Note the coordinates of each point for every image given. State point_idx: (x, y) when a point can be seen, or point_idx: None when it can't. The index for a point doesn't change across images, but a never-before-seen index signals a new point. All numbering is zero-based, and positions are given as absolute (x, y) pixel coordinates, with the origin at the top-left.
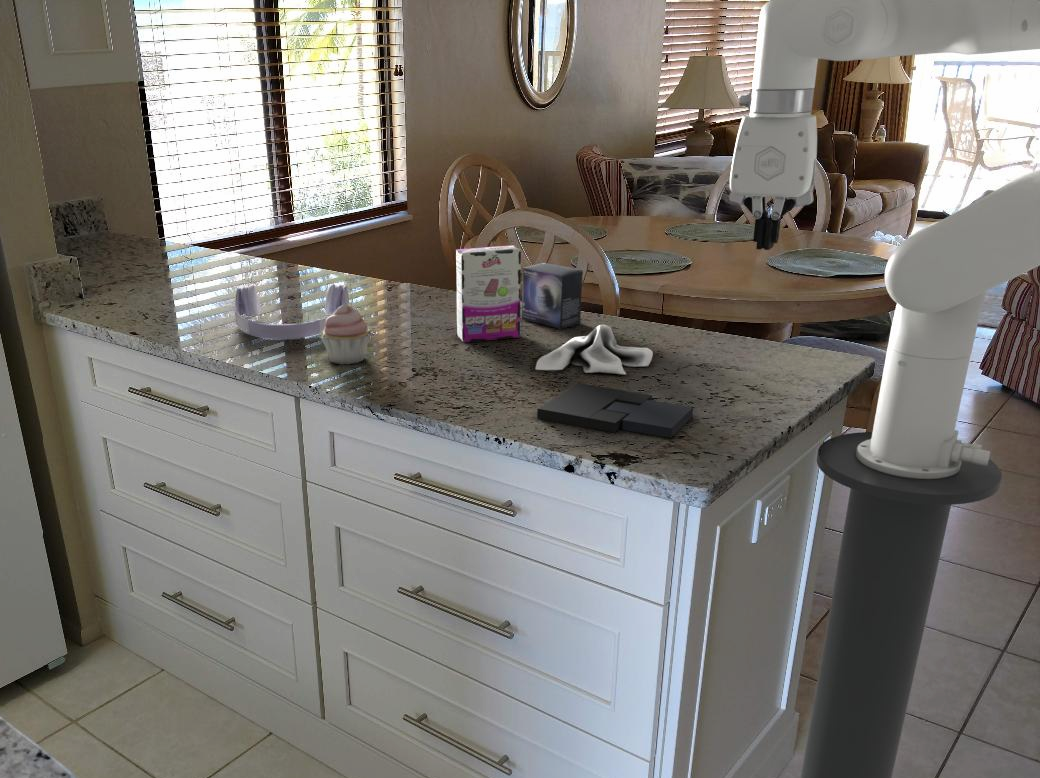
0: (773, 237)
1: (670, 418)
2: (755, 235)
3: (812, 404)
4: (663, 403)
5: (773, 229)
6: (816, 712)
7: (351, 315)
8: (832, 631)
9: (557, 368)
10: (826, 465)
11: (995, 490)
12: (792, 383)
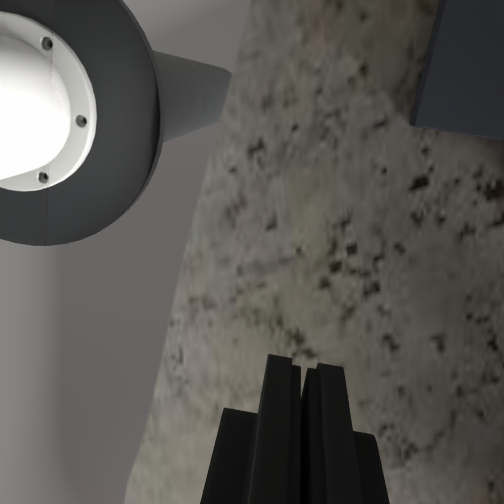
0: (238, 424)
1: (466, 16)
2: (366, 455)
3: (182, 279)
4: (486, 127)
5: (237, 470)
6: (202, 80)
7: None
8: (176, 74)
9: None
10: (137, 28)
11: None
12: (229, 388)
